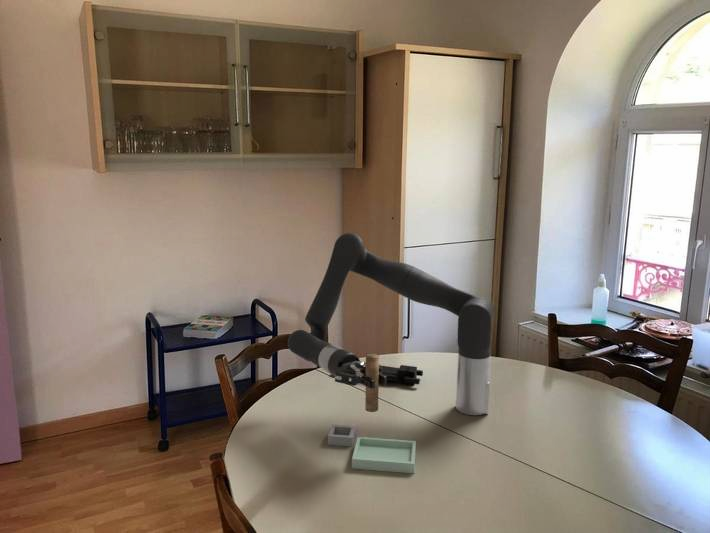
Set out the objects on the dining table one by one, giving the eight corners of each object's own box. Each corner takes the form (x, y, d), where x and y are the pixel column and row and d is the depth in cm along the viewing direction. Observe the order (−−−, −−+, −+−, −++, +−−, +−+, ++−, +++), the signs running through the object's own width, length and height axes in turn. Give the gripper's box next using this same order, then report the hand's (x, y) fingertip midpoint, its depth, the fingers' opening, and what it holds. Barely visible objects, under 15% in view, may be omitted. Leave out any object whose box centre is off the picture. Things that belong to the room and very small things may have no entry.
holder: (355, 434, 160) (355, 426, 159) (352, 446, 154) (352, 437, 153) (332, 433, 161) (332, 424, 160) (327, 444, 154) (327, 435, 154)
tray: (415, 450, 152) (416, 441, 152) (414, 473, 142) (414, 463, 141) (357, 445, 154) (357, 436, 154) (351, 468, 143) (351, 458, 143)
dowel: (378, 406, 150) (379, 354, 147) (377, 412, 147) (378, 358, 144) (366, 406, 150) (366, 353, 147) (364, 411, 147) (365, 358, 144)
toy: (330, 391, 198) (419, 390, 189) (328, 374, 196) (417, 373, 188) (338, 379, 206) (424, 378, 198) (336, 363, 205) (422, 361, 197)
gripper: (316, 354, 153) (356, 375, 139) (359, 343, 161) (401, 362, 148) (316, 381, 154) (356, 404, 141) (359, 369, 163) (401, 390, 149)
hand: (379, 382), depth 144 cm, fingers closed on dowel, 3 cm apart
